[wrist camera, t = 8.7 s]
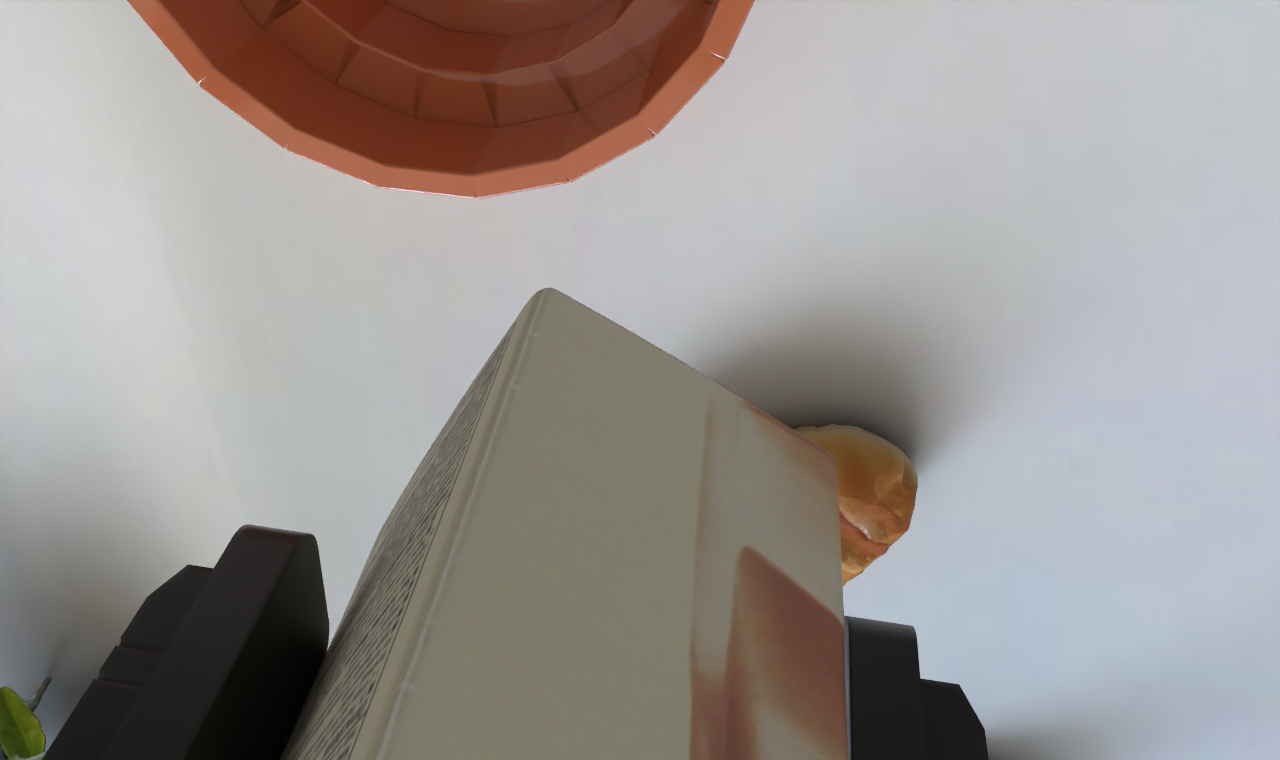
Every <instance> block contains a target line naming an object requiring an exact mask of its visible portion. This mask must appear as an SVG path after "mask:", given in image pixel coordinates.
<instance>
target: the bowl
mask: <svg viewBox="0 0 1280 760" xmlns="http://www.w3.org/2000/svg"><path fill="white" fill-rule="evenodd" d="M127 1H128V2H129V3H130V4H131V6H132V7H133V8H134V9H135V10H136V12H137V13H138V14H139V15H140V16H141V18H142V19H143V20H144V21H145V22H146V23H147V25H148V26H149V27H150V28H151V29H152V31H153V32H154V33H155V34H156V35H157V36H158V38H159V39H160V40H161V41H162V42H163V44H164V45H165V46H166V47H167V48H168V49H169V51H170V52H171V53H172V54H173V55H174V57H175V58H176V59H177V60H178V61H179V63H180V64H181V65H182V66H183V67H184V68H185V70H186V71H187V72H188V73H189V74H190V76H191V77H192V78H193V79H194V80H195V81H196V83H198V84H200V87H201V88H202V89H204V90H205V91H206V92H208V93H209V94H211V95H212V96H213V97H215V98H216V99H217V100H219V101H220V102H221V103H223V104H224V105H226V106H227V107H228V108H230V109H231V110H232V111H234V112H235V113H236V114H238V115H239V116H240V117H242V118H243V119H245V120H246V121H247V122H249V123H250V124H251V125H253V126H254V127H255V128H257V129H258V130H260V131H261V132H262V133H264V134H265V135H266V136H268V137H269V138H270V139H272V140H273V141H274V142H276V143H277V144H279V145H280V146H281V147H283V148H284V149H287V150H288V151H289V152H292V153H294V154H297V155H299V156H302V157H304V158H307V159H309V160H312V161H314V162H317V163H319V164H321V165H324V166H326V167H329V168H331V169H334V170H336V171H339V172H341V173H344V174H346V175H349V176H351V177H353V178H356V179H358V180H361V181H363V182H366V183H368V184H371V185H373V186H376V187H378V188H380V187H381V186H382V188H385V189H393V190H402V191H410V192H419V193H428V194H436V195H445V196H453V197H462V198H470V199H476V198H479V199H481V198H487V197H492V196H498V195H503V194H509V193H514V192H520V191H525V190H531V189H536V188H542V187H548V186H553V185H559V184H564V183H568V182H573V181H575V180H577V179H579V178H580V177H582V176H584V175H586V174H588V173H590V172H592V171H593V170H595V169H597V168H599V167H601V166H603V165H605V164H606V163H608V162H610V161H612V160H614V159H616V158H618V157H619V156H621V155H623V154H625V153H627V152H629V151H631V150H632V149H634V148H636V147H638V146H640V145H642V144H644V143H645V142H647V141H649V140H651V139H653V138H654V137H655V135H657V134H659V133H660V132H661V131H662V130H663V128H664V127H665V126H666V125H667V124H668V123H669V122H670V121H671V120H672V119H673V118H674V117H675V116H676V115H677V114H678V112H679V111H680V110H681V109H682V108H683V107H684V106H685V105H686V104H687V103H688V102H689V101H690V100H691V99H692V98H693V96H694V95H695V94H696V93H697V92H698V91H699V90H700V89H701V88H702V87H703V86H704V85H705V84H706V83H707V82H708V80H709V79H710V78H711V77H712V76H713V75H714V74H715V73H716V72H717V71H718V70H719V69H720V68H721V67H722V65H723V64H724V63H725V60H726V59H727V58H728V57H729V55H730V53H731V51H732V49H733V46H734V44H735V42H736V40H737V38H738V36H739V34H740V31H741V29H742V27H743V25H744V23H745V21H746V19H747V16H748V14H749V12H750V10H751V8H752V6H753V3H754V1H755V0H127Z"/></svg>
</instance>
